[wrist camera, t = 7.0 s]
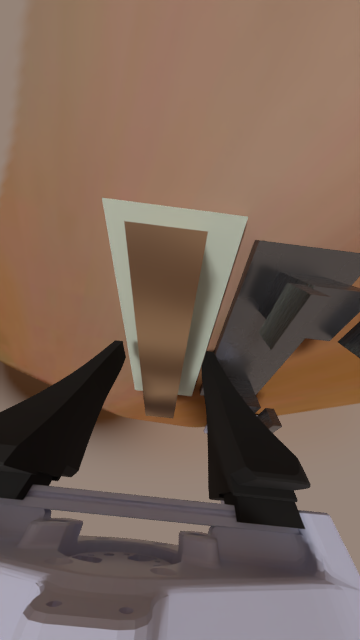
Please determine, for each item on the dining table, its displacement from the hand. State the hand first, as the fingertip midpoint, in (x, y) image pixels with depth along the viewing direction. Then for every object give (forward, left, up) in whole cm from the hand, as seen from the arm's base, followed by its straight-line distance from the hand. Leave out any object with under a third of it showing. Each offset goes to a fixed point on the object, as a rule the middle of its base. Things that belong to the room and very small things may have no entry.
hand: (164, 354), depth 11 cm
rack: (0, -8, -2) cm, 9 cm away
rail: (0, 0, -2) cm, 2 cm away
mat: (0, 0, -2) cm, 2 cm away
